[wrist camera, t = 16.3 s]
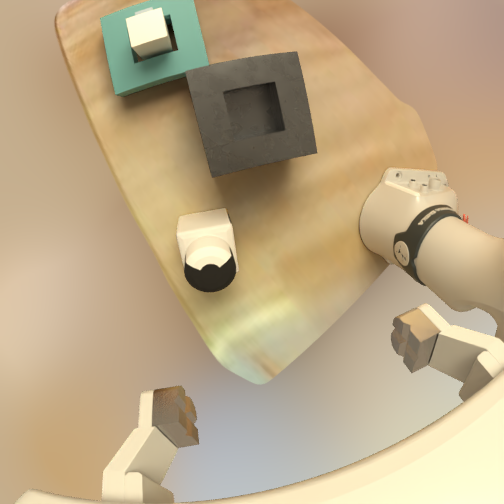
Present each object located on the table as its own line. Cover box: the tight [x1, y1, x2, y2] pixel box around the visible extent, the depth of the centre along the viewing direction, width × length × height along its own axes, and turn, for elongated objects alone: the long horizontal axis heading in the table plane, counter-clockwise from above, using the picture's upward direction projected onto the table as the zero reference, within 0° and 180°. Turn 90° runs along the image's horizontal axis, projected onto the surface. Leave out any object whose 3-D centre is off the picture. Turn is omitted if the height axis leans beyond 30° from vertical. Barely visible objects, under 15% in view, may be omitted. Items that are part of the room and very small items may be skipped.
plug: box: [126, 7, 173, 60], centre depth 26 cm, size 4×5×9 cm
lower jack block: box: [100, 0, 209, 97], centre depth 28 cm, size 12×12×4 cm
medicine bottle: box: [176, 208, 239, 292], centre depth 38 cm, size 7×7×12 cm
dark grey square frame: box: [185, 52, 317, 178], centre depth 32 cm, size 12×12×10 cm
